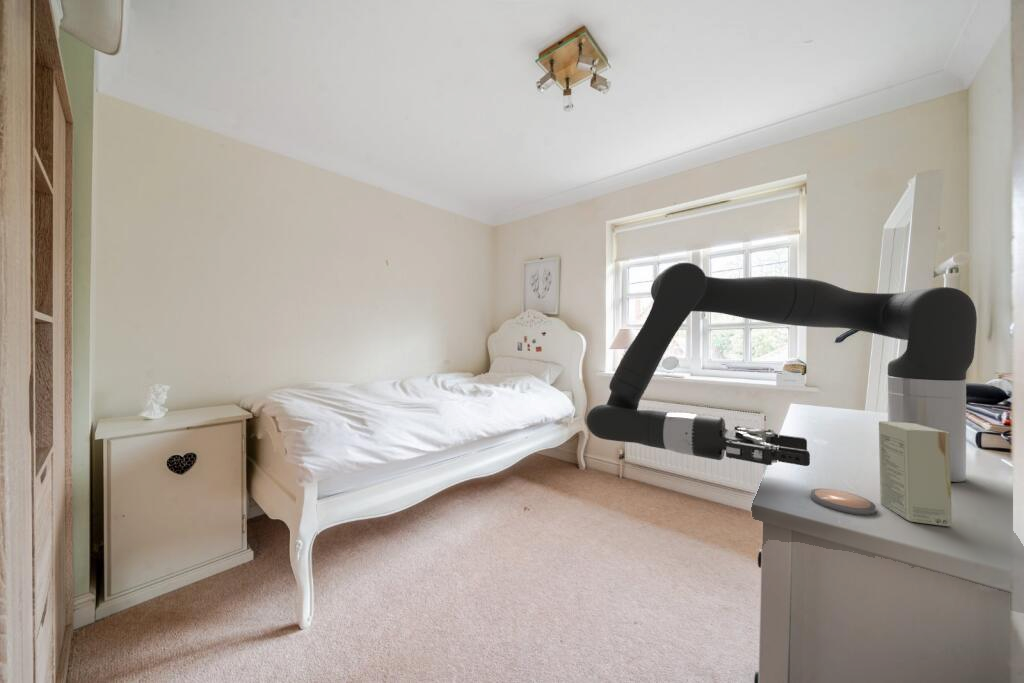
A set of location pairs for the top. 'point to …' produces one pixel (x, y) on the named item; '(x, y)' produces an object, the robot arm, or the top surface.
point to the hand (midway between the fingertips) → (808, 451)
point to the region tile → (843, 501)
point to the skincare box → (915, 472)
